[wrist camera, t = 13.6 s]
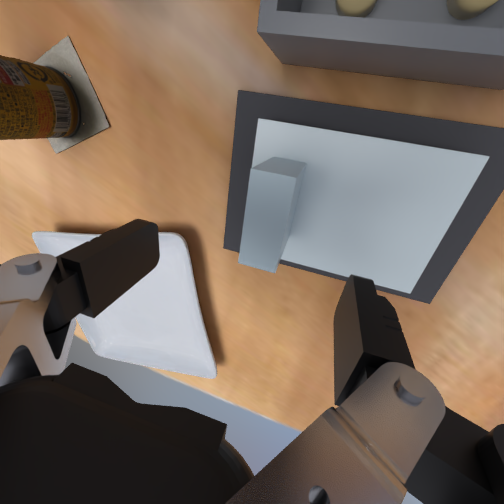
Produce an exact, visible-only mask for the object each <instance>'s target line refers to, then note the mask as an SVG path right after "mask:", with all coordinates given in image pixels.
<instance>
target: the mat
mask: <svg viewBox="0 0 504 504" xmlns="http://www.w3.org/2000/svg"><path fill="white" fill-rule="evenodd" d="M258 118H260V119H267V120H273V121H279V122H285V123H291V124H297V125H303V126H309V127H315V128H321V129H327V130H333V131H339V132H346V133H352V134H358V135H364V136H370V137H376V138H382V139H388V140H394V141H400V142H406V143H412V144H418V145H424V146H430V147H436V148H442V149H448V150H454V151H460V152H467V153H473V154H479V155H484V156H489V159H488V161H487V163H486V164H485V166H484V168H483V169H482V171H481V173H480V175H479V176H478V178H477V180H476V181H475V183H474V185H473V187H472V188H471V190H470V192H469V193H468V195H467V197H466V199H465V200H464V202H463V204H462V206H461V207H460V209H459V211H458V212H457V214H456V216H455V218H454V219H453V221H452V223H451V224H450V226H449V228H448V230H447V231H446V233H445V235H444V236H443V238H442V240H441V242H440V243H439V245H438V247H437V248H436V250H435V252H434V254H433V255H432V257H431V259H430V260H429V262H428V264H427V266H426V267H425V269H424V271H423V273H422V274H421V276H420V278H419V279H418V281H417V283H416V285H415V286H414V288H413V290H412V291H411V293H410V294H409V293H405V292H401V291H398V290H394V289H390V288H387V287H383V286H379V285H375V284H374V285H375V289H376V290H380V291H384V292H387V293H391V294H395V295H398V296H402V297H406V298H410V299H413V300H417V301H421V302H424V303H428V304H430V303H431V301H432V299H433V298H434V296H435V295H436V293H437V292H438V290H439V289H440V287H441V286H442V284H443V282H444V281H445V279H446V278H447V276H448V275H449V273H450V272H451V270H452V269H453V267H454V265H455V264H456V262H457V261H458V259H459V258H460V256H461V255H462V253H463V251H464V250H465V248H466V247H467V245H468V244H469V242H470V241H471V239H472V238H473V236H474V234H475V233H476V231H477V230H478V228H479V227H480V225H481V224H482V222H483V221H484V219H485V217H486V216H487V214H488V213H489V211H490V210H491V208H492V207H493V205H494V203H495V202H496V200H497V199H498V197H499V196H500V194H501V193H502V191H503V190H504V128H498V127H491V126H484V125H477V124H470V123H463V122H456V121H449V120H442V119H436V118H429V117H422V116H415V115H408V114H401V113H394V112H387V111H380V110H373V109H366V108H359V107H352V106H345V105H339V104H332V103H325V102H318V101H311V100H304V99H297V98H290V97H283V96H276V95H269V94H262V93H255V92H248V91H242V90H238V98H237V109H236V120H235V130H234V141H233V151H232V162H231V173H230V183H229V194H228V205H227V215H226V226H225V236H224V247H223V248H224V249H228V250H232V251H235V252H240V245H241V237H242V230H243V222H244V215H245V207H246V200H247V193H248V185H249V178H250V170H251V168H252V161H253V154H254V146H255V139H256V132H257V124H258ZM279 263H280V264H284V265H287V266H291V267H295V268H298V269H302V270H306V271H310V272H313V273H317V274H321V275H324V276H328V277H332V278H335V279H339V280H343V281H347V280H348V278H349V277H345V276H342V275H338V274H334V273H330V272H327V271H323V270H319V269H316V268H312V267H308V266H304V265H301V264H297V263H293V262H289V261H286V260H282V259H280V262H279Z"/></svg>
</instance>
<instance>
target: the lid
mask: <svg viewBox="0 0 504 504" xmlns="http://www.w3.org/2000/svg"><path fill="white" fill-rule="evenodd" d="M488 159H489V156H484V155H479V154H473V153H467V152H460V151H454V150H448V149H442V148H436V147H430V146H424V145H418V144H412V143H406V142H400V141H394V140H388V139H382V138H376V137H370V136H364V135H358V134H352V133H346V132H339V131H333V130H327V129H321V128H315V127H309V126H303V125H297V124H291V123H285V122H279V121H273V120H267V119H260V118H258V124H257V132H256V139H255V146H254V154H253V161H252V168H251V170H250V178H249V185H248V193H247V200H246V207H245V215H244V222H243V230H242V237H241V245H240V252H239V260H238V263H240V264H244V265H247V266H251V267H254V268H258V269H261V270H265V271H269V272H272V273H275V272H276V270H277V267H278V265H279V262H280V259H282V260H286V261H289V262H293V263H297V264H301V265H304V266H308V267H312V268H316V269H319V270H323V271H327V272H330V273H334V274H338V275H342V276H345V277H349V276H350V275H351V274H353V275H356V276H360V277H364V278H368V279H372V280H373V281H374V284H375V285H379V286H383V287H387V288H390V289H394V290H398V291H401V292H405V293H409V294H410V293H411V291H412V290H413V288H414V286H415V285H416V283H417V281H418V279H419V278H420V276H421V274H422V273H423V271H424V269H425V267H426V266H427V264H428V262H429V260H430V259H431V257H432V255H433V254H434V252H435V250H436V248H437V247H438V245H439V243H440V242H441V240H442V238H443V236H444V235H445V233H446V231H447V230H448V228H449V226H450V224H451V223H452V221H453V219H454V218H455V216H456V214H457V212H458V211H459V209H460V207H461V206H462V204H463V202H464V200H465V199H466V197H467V195H468V193H469V192H470V190H471V188H472V187H473V185H474V183H475V181H476V180H477V178H478V176H479V175H480V173H481V171H482V169H483V168H484V166H485V164H486V163H487V161H488Z"/></svg>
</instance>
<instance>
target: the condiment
mask: <svg viewBox="0 0 504 504" xmlns="http://www.w3.org/2000/svg"><path fill="white" fill-rule="evenodd" d="M64 72H65V73H66V74H67V73H68V74H70V75H71V77H69V76H68V75H65V74H64ZM83 123H84V125H83ZM108 127H109V124H108V122H107V120H106V118H105V114H104V112H103V110H102V107H101V105H100V103H99V101H98V98H97V96H96V93H95V91H94V89H93V87H92V85H91V83H90V81H89V77H88V75H87V74H86V72H85V70H84V68H83V67H82V64H81V62H80V59H79V57H78V55H77V53H76V51H75V50H74V47H73V45H72V43H71V41H70V39H69V37H68V36H67V37H66V38H64V39H62V40H61V41H60V42H59V43H58V44H57V45H55V46H53V47H52V48H51V49H50V50H49V51H47V52H45V54H44V55H42V56H41V57H40V58H39V59H38V60H37V61H36V62H34V63H29V62H26V61H22V60H20V59H15V58H9V57H5V56H1V55H0V140H7V139H13V140H15V139H38V138H47V139H48V140H49V142H50V144H51V146H52V148H53V149H54V151H55V153H58V152H61V151H63V150H65V149H67V148H69V147H71V146H73V145H75V144H77V143H79V142H81V141H83V140H84V139H86V138H88V137H90V136H92V135H95V134H97V133H98V132H100V131H102V130H104V129H106V128H108Z"/></svg>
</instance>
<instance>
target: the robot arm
mask: <svg viewBox="0 0 504 504" xmlns="http://www.w3.org/2000/svg"><path fill="white" fill-rule="evenodd" d="M159 258H160V250H159V234H158V227H157V225H156V224H155V223H153V222H149V221H145V220H141V219H135V220H133V221H131V222H129V223H127V224H125V225H123V226H121V227H119V228H117V229H113V230H110V231H108V232H105V233H103V234H101V235H99V237H95V238H93V239H91V240H90V241H87V242H85V243H83V244H81V245H79V246H77V247H75V248H73V249H71V250H69V251H67V252H65V253H63V254H61V255H58V256H56V257H54V256H53V255H50V254H43V253H36V254H28V255H23V256H19V257H16V258H13V259H11V260H9V261H7V262H5V263H3V264H2V265H1V264H0V504H401V503H402V501H403V499H404V497H405V495H406V492H407V491H408V492H409V493H410V494H412V495H413V496H414V497H416V498H417V499H418V500H420V501H421V502H422V503H423V504H504V424H500V425H497V426H496V427H495V428H494V429H492V430H491V431H490V432H488V431H486V430H485V429H483V428H481V427H479V426H478V425H476V424H474V423H473V422H471V421H469V420H467V419H466V418H464V417H462V416H460V415H459V414H457V413H455V412H454V411H452V410H450V409H449V408H447V407H446V406H445V403H444V400H443V398H442V396H441V394H440V393H439V391H438V390H437V388H436V387H435V386H434V385H433V383H432V382H431V381H430V380H429V379H428V378H426V377H425V376H424V375H423V374H421V373H420V372H418V371H417V370H416V369H415V366H414V364H413V361H412V358H411V355H410V352H409V349H408V346H407V343H406V340H405V337H404V334H403V332H402V328H401V325H400V322H398V320H399V319H398V317H397V314H396V311H395V308H394V307H393V306H392V305H391V303H390V302H389V301H388V300H387V299H386V298H385V297H383V296H379V295H377V292H376V289H375V285H374V281H373V280H372V279H368V278H364V277H360V276H356V275H353V274H351V275H350V276H349V278H348V280H347V282H346V285H345V287H344V290H343V292H342V295H341V297H340V300H339V302H338V304H337V307H336V311H335V315H334V397H335V405H337V406H339V407H337V408H336V409H335V408H334V407H331V408H329V409H327V410H326V411H325V412H324V413H323V414H322V415H320V416H319V417H318V418H317V419H316V420H315V421H314V422H313V423H312V424H311V425H310V426H309V427H307V428H306V429H305V430H304V431H303V432H302V433H301V434H300V435H299V436H298V437H297V438H296V439H294V440H293V441H292V442H291V443H290V444H289V445H288V446H287V447H286V448H285V449H284V450H283V451H281V452H280V453H279V454H278V455H277V456H276V457H275V458H274V459H273V460H272V461H271V462H270V463H268V465H266V466H265V467H264V468H263V469H262V470H261V471H260V472H259V473H258V474H257V475H255V476H254V475H253V473H252V471H251V469H250V467H249V466H248V464H247V463H246V461H245V460H244V459H243V457H242V456H241V455H240V454H239V452H238V451H237V450H236V449H235V448H234V447H233V446H232V445H231V444H230V443H228V442H227V441H226V440H225V434H226V427H227V424H225V423H222V422H220V421H217V420H215V419H212V418H210V417H207V416H205V415H202V414H200V413H197V412H194V411H192V410H190V409H187V408H183V407H172V406H161V405H150V404H140V403H137V402H135V401H134V400H132V399H131V398H130V397H129V396H128V395H127V394H126V393H124V392H123V391H122V390H121V389H120V388H119V387H118V386H117V385H116V384H114V383H113V382H112V381H111V380H110V379H109V378H108V377H107V376H104V375H102V374H99V373H97V372H94V371H91V370H89V369H86V368H84V367H81V366H79V365H77V364H74V363H71V364H70V365H69V366H68V367H67V368H66V369H65V370H64V368H65V364H66V360H67V357H68V353H69V349H70V346H71V342H72V338H73V335H74V331H75V327H76V319H75V317H76V316H77V315H78V314H83V315H86V316H89V317H91V318H95V317H96V316H98V315H99V314H100V313H101V312H103V311H104V310H105V309H106V308H107V307H109V306H110V305H111V304H112V303H113V302H115V301H116V300H117V299H118V298H119V297H121V296H122V295H123V294H124V293H125V292H127V291H128V290H129V289H130V288H131V287H133V286H134V285H135V284H136V283H138V282H139V281H140V280H141V279H142V278H144V277H145V276H146V275H147V274H148V273H150V272H151V271H152V270H153V269H154V268H155V267H156V266H157V264H158V262H159Z"/></svg>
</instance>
